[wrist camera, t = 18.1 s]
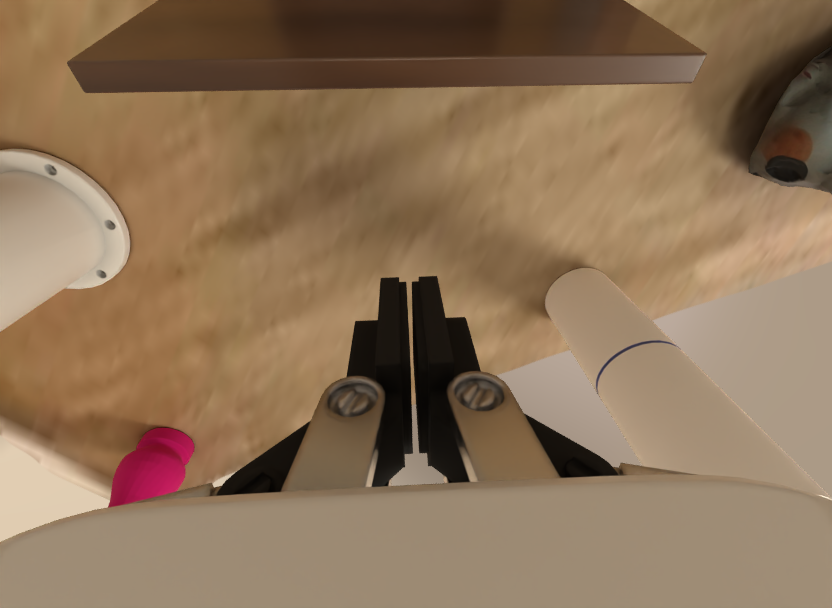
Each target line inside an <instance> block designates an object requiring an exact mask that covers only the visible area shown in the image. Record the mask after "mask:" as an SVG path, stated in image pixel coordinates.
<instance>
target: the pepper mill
mask: <svg viewBox="0 0 832 608" xmlns="http://www.w3.org/2000/svg"><path fill="white" fill-rule="evenodd" d="M193 452H194V443H193V442H192V440H191V439H190V438H189V437H188V436H187V435H186V434H184V433H182V432H180V431H178V430H175V429H171V428H155V429H152V430H150V431H148V432H147V433H146V434H145V435H144V436H143V438H142V439H141V440H140V442H139V443H138V445H137V448H136V450H135V451H133V452H131V453H129V454H128V455H126V456H125V457H124V458H123V459H122V461H121V462H120V464H119V466H118V468H117V470H116V472H115V475H114V478H113V484H112V491H111V499H110V503H109V506H108V508H109V507H114V506H120V505H124V504H128V503H132V502H136V501H140V500H144V499H148V498H152V497H156V496H160V495H164V494H168V493H172V492H176V491H177V490H178V489H179V487H180V485H181V484H182V482H183V480H184V478H185V465H186V464H187V463H188V462H189V460H190V458H191V456H192V454H193Z"/></svg>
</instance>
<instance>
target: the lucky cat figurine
mask: <svg viewBox="0 0 832 608" xmlns="http://www.w3.org/2000/svg"><path fill="white" fill-rule="evenodd" d="M749 173H751V174H753V175H756V176H760V177H763V178H766V179H768V180H770V181H773V182H775V183H778V184H779V185H781V186H787V187H795V186H801V187H808V188H813V189H818V190H822V191H825V192H830V193H831V194H832V46H831V47H829V48H828V49H826V50H825V51H823V52H822V53H821V54H819V55H818V56H816V57H815V58H813V59H812V60H811V62H810V63H808V65H807V66H806V67H805V68H804V69H803V70H802V71H801V73H800V74H799V75H798V76H797V77H796V78H794V79H793V80H792V81H791V83H790V85H789V86H788V88H787V89H786V90H785V92H784V93H783V95H782V96H781V98H780V99H779V101H778V103H777V105H776V107H775V109H774V111H773V113H772V115H771V117H770V119H769V121H768V123H767V125H766V127H765V129H764V131H763V133H762V135H761V137H760V140H759V142H758V144H757V146H756V147H755V148H754V150H753V152H752V154H751V158H750V165H749Z"/></svg>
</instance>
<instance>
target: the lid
mask: <svg viewBox="0 0 832 608" xmlns="http://www.w3.org/2000/svg"><path fill="white" fill-rule="evenodd" d="M706 55H707V54H706V53H705V52H704V51H702V50H701V49H699V48H698V47H696V46H694V45H693V44H691V43H690V42H688V41H687V40H685V39H683V38H682V37H680V36H679V35H677V34H676V33H674V32H672V31H671V30H669V29H668V28H666V27H665V26H663V25H661V24H660V23H658V22H657V21H655V20H654V19H652V18H651V17H649V16H647V15H646V14H644V13H643V12H641V11H640V10H638V9H636V8H635V7H633V6H632V5H630V4H629V3H627V2H625V1H624V0H158V1H157V2H155V3H154V4H152V5H151V6H149V7H148V8H146V9H145V10H143V11H142V12H140V13H139V14H137V15H136V16H135V17H133V18H132V19H130V20H129V21H127V22H126V23H124V24H123V25H121V26H120V27H118V28H117V29H115V30H114V31H112V32H111V33H109V34H108V35H106V36H105V37H103V38H102V39H100V40H99V41H97V42H96V43H94V44H93V45H92V46H90V47H89V48H87V49H86V50H84V51H83V52H81V53H80V54H78V55H77V56H75V57H74V58H72V59H71V60H69V61H68V62H67V64H68V66H69V68H70V69H71V71H72V73H73V74H74V76H75V78H76V79H77V81H78V82H79V84H80V86H81V87H82V89H83V91H84V92H85V93H123V92H184V91H245V90H306V89H367V88H428V87H489V86H550V85H611V84H672V83H692V82H693V81H694V79H695V77H696V75H697V73H698V71H699V69H700V67H701V65H702V63H703V61H704V59H705V57H706Z"/></svg>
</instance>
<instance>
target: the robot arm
mask: <svg viewBox="0 0 832 608" xmlns="http://www.w3.org/2000/svg"><path fill="white" fill-rule="evenodd" d="M129 253H130V238H129V231H128V228H127V226H126V223H125V220H124V218H123V216H122V214H121V212H120V211H119V209H118V207H117V205H116V204H115V203H114V201H113V200H112V199H111V198H110V196H109V195H108V194H107V193H106V192H105V191H104V190H103V189H102V188H101V187H100V186H99V185H98V184H97V183H96V182H95V181H94V180H93V179H91V178H90V177H89V176H87V175H86V174H85V173H83V172H82V171H81V170H79V169H78V168H76V167H74V166H72V165H71V164H69V163H67V162H65V161H64V160H61V159H59V158H56V157H54V156H51V155H49V154H46V153H42V152H37V151H33V150H27V149H6V150H0V332H1V331H2V330H4V329H5V328H7V327H8V326H9V325H11V324H12V323H14V322H15V321H17V320H18V319H20V318H21V317H23V316H24V315H26V314H27V313H29V312H30V311H32V310H33V309H35V308H36V307H37V306H39V305H40V304H42V303H43V302H45V301H46V300H48V299H49V298H51V297H52V296H54V295H55V294H57V293H58V292H60V291H61V290H63V289H64V288H68V289H84V288H92V287H95V286H98V285H101V284H103V283H105V282H107V281H108V280H110V279H112V278H113V277H114V276H115V275H116V274H118V273H119V272H120V271H121V270H122V268H123V267H124V265H125V264H126V262H127V259H128V256H129ZM412 315H413V360H414V377H415V393H416V409H417V425H418V441H419V453H427V457H428V466H432V467H434V468H435V469H437V470H438V471H439V472H440V473H442V474H443V475H444V483H443V484H422V485H404V486H391V478H392V477H393V476H394V475H395V474H397V472H399V471H400V470H401V469H402V468H403V467H405V456H404V454H412V453H413V447H412V405H411V367H410V345H409V326H408V307H407V288H406V282H399V277H395V278H381V282H380V297H379V312H378V320H373V321H356V322H355V326H354V333H353V339H352V346H351V352H350V358H349V365H348V371H347V377H346V378H342V379H340V380H338V381H336V382H334V383H332V384H331V385H330V386H329V387H328V388H326V390H325V391H324V393H323V394H322V396H321V398H320V401H319V403H318V405H317V408H316V410H315V412H314V415H313V417H312V419H311V421H310V422H308V423H307V424H305V425H304V426H302V427H301V428H300V429H298V430H297V431H295V432H294V433H292V434H291V435H289V436H288V437H287V438H285V439H284V440H282V441H281V442H279V443H278V444H276V445H275V446H273V447H272V448H271V449H269V450H268V451H266V452H265V453H263V454H262V455H260V456H259V457H258V458H256V459H255V460H253V461H252V462H250V463H249V464H247V465H246V466H244V467H243V468H242V469H240V470H239V471H237V472H236V473H235V474H233V475H232V476H231V477H230V478H229V479H228V480H226V481H225V483H224V484H223V485H222V486H219V487H215V488H214V487H213V485H212V483H209V484H205V485H201V486H197V487H193V488H188V489H184V490H180V491H176V492H172V493H168V494H164V495H160V496H156V497H152V498H148V499H144V500H140V501H136V502H132V503H128V504H124V505H120V506H114V507H109V508H103V509H97V510H93V511H89V512H85V513H82V514H78V515H74V516H70V517H66V518H63V519H59V520H56V521H53V522H50V523H48V524H45V525H42V526H39V527H36V528H34V529H31V530H28V531H25V532H22V533H20V534H18V535H16V536H13V537H11V538H8V539H6V540H4V541H2V542H0V608H832V500H830V499H828V498H825V497H822V496H819V495H816V494H813V493H810V492H807V491H803V490H799V489H795V488H791V487H788V486H784V485H780V484H776V483H770V482H764V481H758V480H752V479H747V478H741V477H729V476H716V475H697V474H691V473H684V472H677V471H671V470H664V469H658V468H651V467H645V466H638V465H631V464H625V463H621V464H620V466H619V468H616V467H612V466H611V465H610V464H609V463H608V462H607V461H605V460H604V459H603V458H601V457H600V456H598V455H597V454H595V453H593V452H591V451H590V450H588V449H586V448H584V447H583V446H581V445H579V444H577V443H575V442H574V441H572V440H570V439H568V438H566V437H565V436H563V435H561V434H559V433H558V432H556V431H554V430H552V429H550V428H549V427H547V426H545V425H544V424H542V423H540V422H538V421H536V420H535V419H533V418H531V417H529V416H528V415H526V414H524V413H523V411H522V410H521V408H520V406H519V404H518V403H517V401H516V399H515V397H514V396H513V394H512V392H511V390H510V389H509V387H508V386H507V385H506V383H505V382H504V381H503V380H501V379H499V378H498V377H497V376H495V375H492V374H490V373H486V372H481V371H480V367H479V364H478V360H477V356H476V353H475V349H474V346H473V342H472V339H471V335H470V331H469V328H468V324H467V321H466V318H465V317H457V318H445V313H444V308H443V303H442V298H441V293H440V288H439V283H438V278H437V276H427V277H419V281H418V282H412Z"/></svg>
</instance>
